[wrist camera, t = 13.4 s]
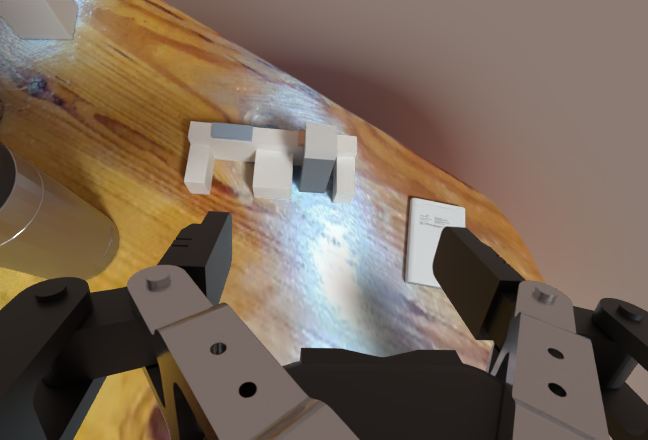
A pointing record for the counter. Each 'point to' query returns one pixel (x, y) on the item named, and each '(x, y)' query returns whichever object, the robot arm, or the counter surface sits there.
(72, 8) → the milk carton
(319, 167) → the grey tall block
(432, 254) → the external hard drive
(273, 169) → the socket strip
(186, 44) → the counter surface
